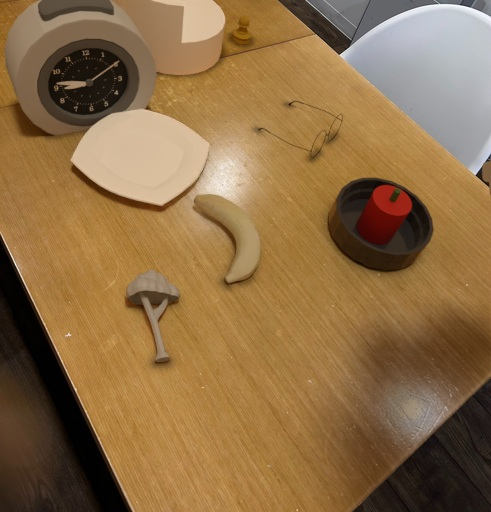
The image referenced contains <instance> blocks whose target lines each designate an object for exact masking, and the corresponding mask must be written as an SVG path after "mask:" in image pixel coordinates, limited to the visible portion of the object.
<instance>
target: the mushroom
mask: <svg viewBox="0 0 491 512" xmlns="http://www.w3.org/2000/svg"><path fill="white" fill-rule="evenodd" d="M125 296H126V297H127V298H128V300H129V301H130V302H131V303H132V304H133V305H143V307H144V310H145V312H146V315H147V317H148V320H149V322H150V326H151V328H152V332H153V337H154V341H155V343H156V344H155V345H156V350H157V354H156V356H155V359H154V361H155V362H156V363H162V362H167V361H170V360H171V357H170V356H169V355H168V353H167V351H166V348H165V344H164V340H163V335H162V332H161V328H160V324H159V319H160V317H161V316H162V315H163V313H164V312H165V310H166V308H167V306H168V303H174V302H176V301H178V300H180V297H181V293H180V290H179V288H178V286H177V285H175V284H173V283H169V280H168V278H166V275H164V274H163V273H160V272H157V271H156V270H154V269H148V270H146V271H145V272H142V273H139V274H138V275H136V277H135V278H134V280H132V281H131V282H129V283H128V284H127V286H126V288H125ZM158 304H160V305H159V306H158V307H156V308H155V309H154V308H153V306H152V305H158Z"/></svg>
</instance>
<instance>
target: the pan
mask: <svg viewBox="0 0 491 512" xmlns="http://www.w3.org/2000/svg"><path fill="white" fill-rule="evenodd" d="M382 185H390V186H394V187H397V188H399V189H401V190H402V191H404V192H405V193H406V194H407V195H408V196H409V198H410V199H411V202H412V208H411V211H410V212H409V214H408V215H407V217H406V218H405V220H404V221H403V223H402V224H401V226H400V227H399V229H398V230H397V232H396V233H395V235H394V236H393V238H392V239H391V241H390V242H388V243H386V244H381V245H379V244H373V243H371V242H368V241H367V240H365V239H364V238H363V237H362V236H361V235H360V234H359V232H358V230H357V221H358V219H359V217H360V215H361V214H362V212H363V210H364V208H365V206H366V204H367V203H368V201H369V199H370V197H371V195H372V193H373V192H374V190H375V189H376V188H377V187H379V186H382ZM328 227H329V230H330V233H331V236H332V238H333V240H334V241H335V242H336V243H337V245H338V247H339V248H340V249H341V250H342V251H343V252H344V253H346V255H348V256H349V257H350V258H352V260H354V261H356V262H359V263H360V264H362V265H364V266H367V267H368V268H373V269H378V270H382V271H388V270H389V271H390V270H391V271H392V270H400V269H403V268H406V267H408V266H410V265H412V264H413V262H415V261H416V260H417V259H418V258H419V257H420V256H421V254H422V253H423V251H424V250H425V249H426V247H427V246H428V245H429V244H430V242H431V240H432V237H433V234H434V231H435V230H434V222H433V217H432V216H431V213H430V211H429V209H428V207H427V205H425V203H424V202H423V201H422V200H421V199H420V197H419V196H418V195H416V194H415V193H414V192H412V191H411V190H409V189H408V188H406V187H405V186H403V185H402V184H399V183H397V182H395V181H392V180H388V179H384V178H380V177H361V178H358V179H354V180H351V181H349V182H348V183H347V184H345V185H344V186H343V187H341V189H340V190H339V192H338V194H337V196H336V198H335V200H334V202H333V205H332V207H331V209H330V212H329V216H328Z"/></svg>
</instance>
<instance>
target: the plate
mask: <svg viewBox="0 0 491 512" xmlns="http://www.w3.org/2000/svg"><path fill="white" fill-rule="evenodd" d="M84 133H85V134H84V135H83V136H82V138H81V139H80V141H79V142H78V144H77V146H76V147H75V150H74V151H73V154H72V156H71V158H70V163H71V164H73V165H74V166H75V167H76V168H77V169H78V170H79V171H80V172H81V173H82V174H83V175H85V176H86V177H87V178H88V179H90V180H91V181H92V182H94V183H95V184H96V185H97V186H99V187H101V188H102V189H104V190H106V191H107V192H110V193H112V194H114V195H117V196H119V197H123V198H125V199H129V200H132V201H137V202H140V203H144V204H150V205H155V206H159V207H163V206H165V205H166V204H168V203H169V202H170V201H172V200H174V199H175V198H176V197H178V196H179V195H181V194H182V193H184V192H185V191H186V190H187V189H188V188H190V187H191V186H192V185H193V184H194V183H195V182H196V180H198V179H199V177H200V175H201V174H202V172H203V169H204V167H205V165H206V163H207V159H208V156H209V153H210V149H211V144H210V142H208V141H207V140H206V139H205V138H203V137H202V136H201V135H199V134H198V133H197V132H196V131H195V130H193V129H192V128H190V127H189V126H187V125H186V124H184V123H182V122H180V121H179V120H177V119H175V118H173V117H170V116H169V115H166V114H163V113H159V112H156V111H153V110H149V109H146V108H145V109H138V110H132V111H125V112H124V111H123V112H118V113H112V114H110V115H108V116H106V117H105V118H103V119H102V120H100V121H98V122H97V123H96V124H94V125H93V126H92V127H91V128H90V129H89V130H86V132H84Z"/></svg>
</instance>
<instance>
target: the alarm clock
mask: <svg viewBox="0 0 491 512" xmlns="http://www.w3.org/2000/svg"><path fill="white" fill-rule="evenodd" d="M3 51H4V61H5V68H6V71H7V75H8V76H9V80H10V82H11V85H12V88H13V90H14V94H15V96H16V98H17V101H18V103H19V105H20V108H21V110H22V112H23V113H24V115H25V116H26V117H27V118H28V119H29V120H30V122H31V123H32V124H33V125H34V126H36V127H37V128H39V129H41V130H42V131H44V132H45V133H47V134H50V135H52V136H61V135H67V134H73V133H78V132H84V131H88V130H89V129H90V128H91V127H92V126H93V125H94V124H96V123H97V122H98V121H100V120H102V119H103V118H105V117H106V116H108V115H110V114H112V113H118V112H123V111H124V112H125V111H132V110H138V109H145V110H146V109H147V107H148V105H149V104H150V102H151V100H152V97H153V95H154V94H155V93H154V92H155V90H156V82H157V79H158V78H157V77H158V75H157V74H158V72H156V65H155V60H154V57H153V55H152V53H151V51H150V48H149V46H148V45H147V43H146V41H145V40H144V38H143V36H142V35H141V33H140V32H139V30H138V28H137V27H136V25H135V23H134V22H133V20H132V19H131V18H130V17H129V16H128V14H127V13H126V12H125V11H124V10H123V9H122V8H121V7H120V6H119V4H117V3H115V2H114V1H112V0H36V1H35V2H33V3H31V4H30V5H29V6H28V7H27V8H26V9H25V10H23V11H22V12H21V13H20V14H19V15H18V16H17V17H16V19H15V21H14V22H13V24H12V26H11V27H10V29H9V30H8V33H7V37H6V41H5V46H4V50H3Z"/></svg>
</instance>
